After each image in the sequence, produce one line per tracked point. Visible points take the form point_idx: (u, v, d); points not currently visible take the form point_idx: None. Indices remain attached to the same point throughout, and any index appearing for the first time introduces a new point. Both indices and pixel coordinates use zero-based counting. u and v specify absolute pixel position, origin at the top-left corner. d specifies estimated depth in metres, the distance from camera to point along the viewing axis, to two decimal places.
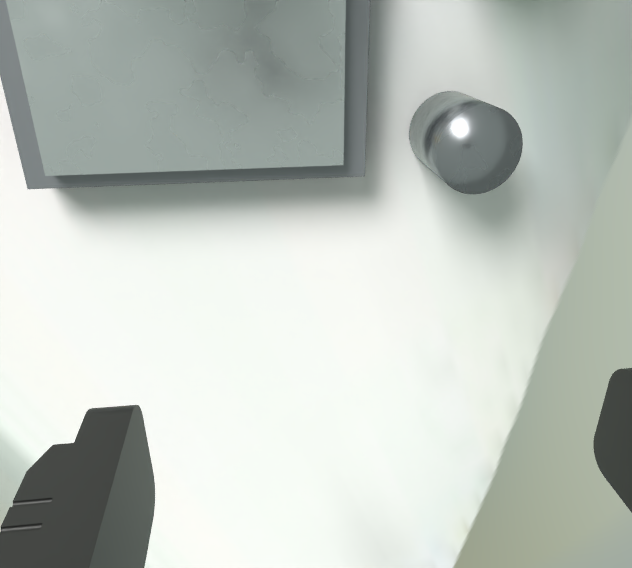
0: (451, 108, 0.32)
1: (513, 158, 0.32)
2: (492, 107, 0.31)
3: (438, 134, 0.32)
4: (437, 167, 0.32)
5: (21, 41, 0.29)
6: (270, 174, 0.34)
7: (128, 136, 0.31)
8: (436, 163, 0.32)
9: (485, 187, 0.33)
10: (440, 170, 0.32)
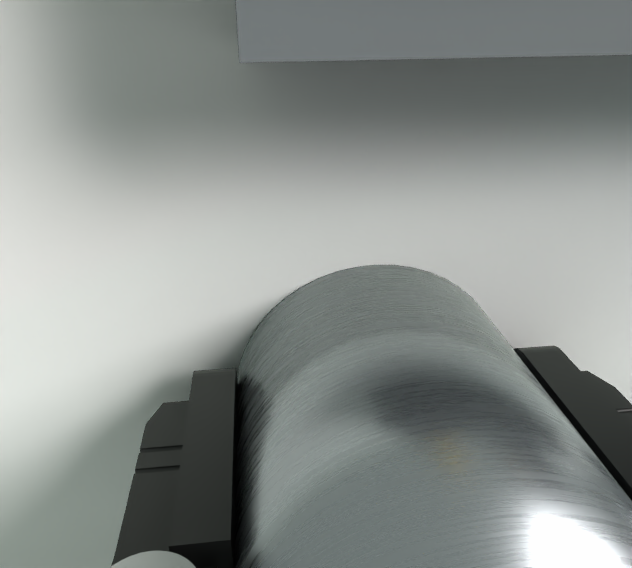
0: None
1: None
2: None
3: (611, 537, 0.05)
4: None
5: None
6: None
7: None
8: None
9: None
10: None
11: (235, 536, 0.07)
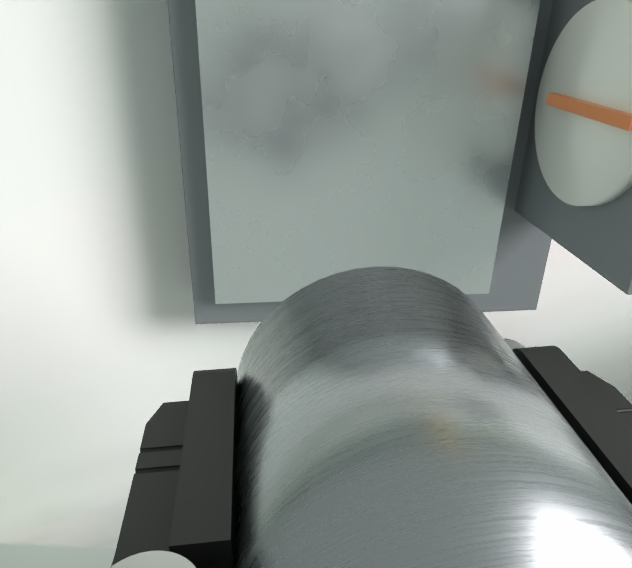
0: None
1: None
2: None
3: (608, 538, 0.05)
4: None
5: None
6: (193, 198, 0.22)
7: None
8: None
9: None
10: None
11: (235, 538, 0.07)
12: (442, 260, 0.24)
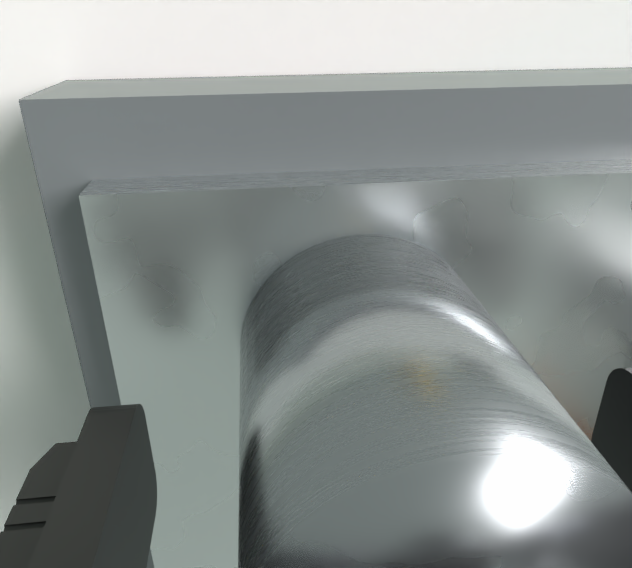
0: None
1: None
2: None
3: (540, 425, 0.06)
4: (383, 464, 0.06)
5: (461, 195, 0.11)
6: None
7: (220, 408, 0.12)
8: (407, 455, 0.06)
9: None
10: (374, 489, 0.05)
11: (241, 455, 0.08)
12: None
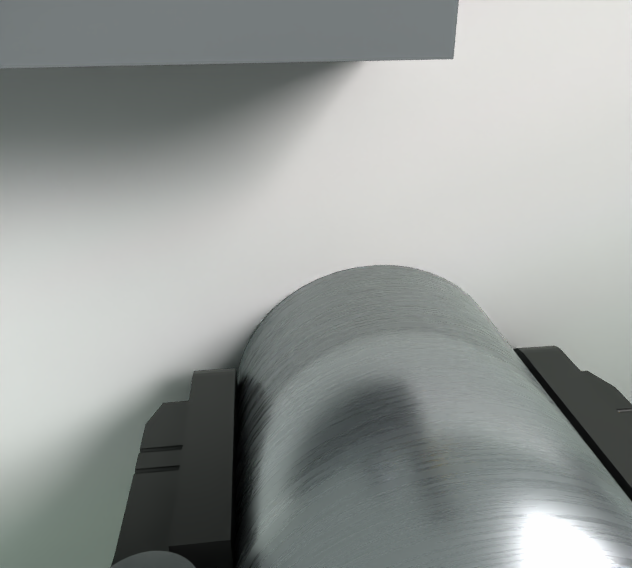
0: None
1: None
2: None
3: None
4: None
5: None
6: None
7: None
8: None
9: None
10: None
11: None
12: None
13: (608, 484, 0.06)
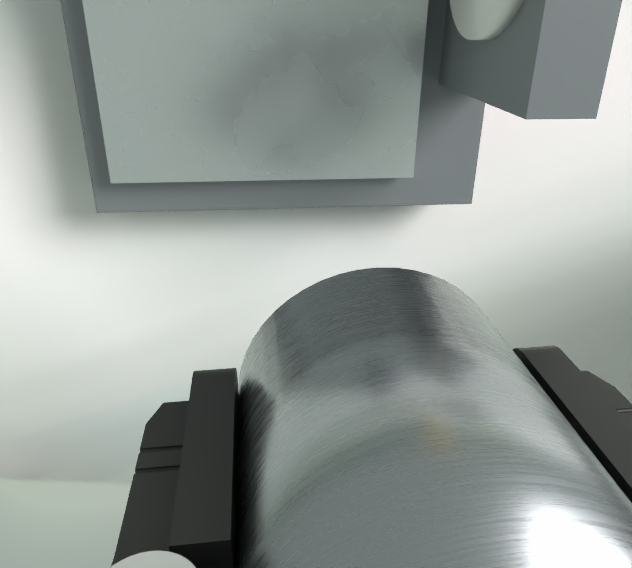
0: None
1: None
2: None
3: None
4: None
5: None
6: (80, 62, 0.21)
7: None
8: None
9: None
10: None
11: None
12: (358, 136, 0.22)
13: (609, 487, 0.06)
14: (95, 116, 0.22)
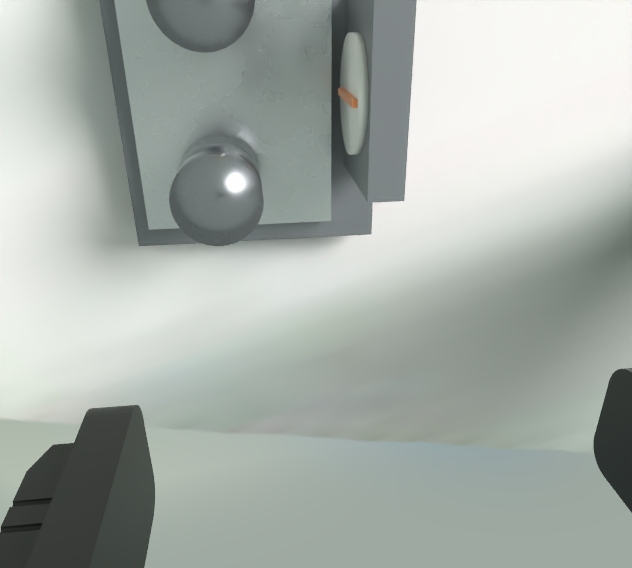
0: None
1: (195, 43, 0.27)
2: (253, 2, 0.26)
3: None
4: None
5: None
6: (130, 160, 0.36)
7: (155, 24, 0.31)
8: None
9: (155, 9, 0.26)
10: None
11: None
12: (295, 198, 0.37)
13: (242, 158, 0.31)
14: (139, 190, 0.36)
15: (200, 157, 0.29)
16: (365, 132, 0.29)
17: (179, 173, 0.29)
